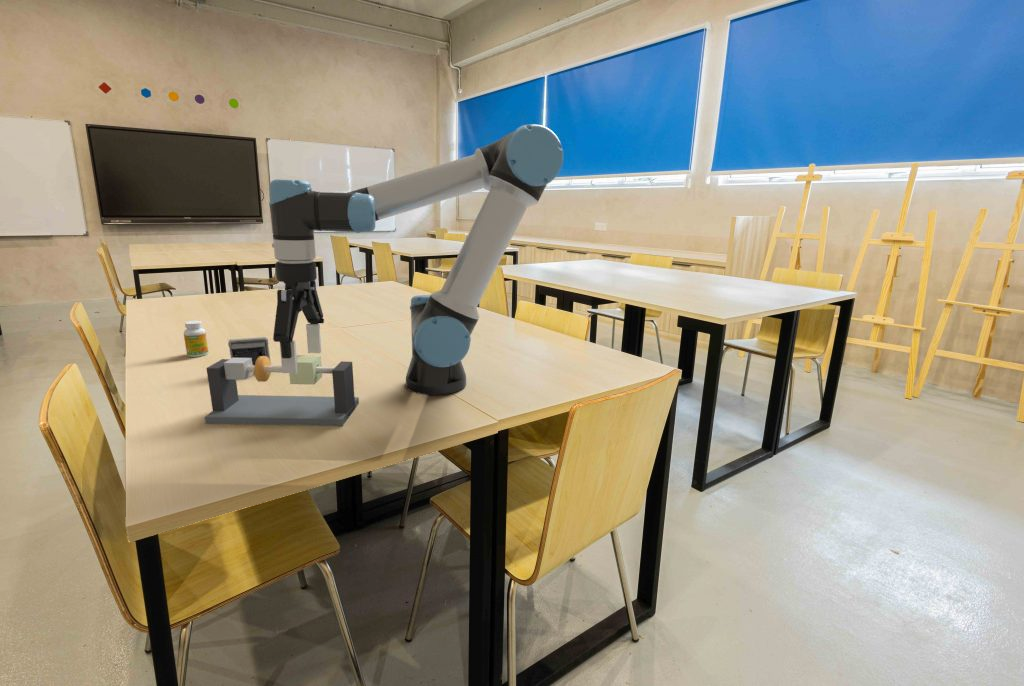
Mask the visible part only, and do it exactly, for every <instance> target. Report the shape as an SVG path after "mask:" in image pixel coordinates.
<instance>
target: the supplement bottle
mask: <svg viewBox="0 0 1024 686" xmlns="http://www.w3.org/2000/svg"><path fill="white" fill-rule="evenodd" d="M202 325H203V323H202V321H201V320H189V321H186V322H184V327H185V328H186V329H184V331H183V337H184V338H183V339H184V343H185V344H184V345H185V351H186V356H187V357H191V358H199V357H200V358H201V357H204V356H206V355H208V354H209V347H208V340H207V332H206V330H205V329H204V328H203V326H202Z"/></svg>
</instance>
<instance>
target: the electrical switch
mask: <svg viewBox="0 0 1024 686" xmlns="http://www.w3.org/2000/svg"><path fill="white" fill-rule="evenodd" d="M227 344H228V348H229V352H230V353H229V354H230V359H231V358H252V365H255V362H256V360H257V358H258V357H259V356H267V357H268V358H269V360H270V363H271V355H270V347H269V339H268V337H267V336H259V337H245V338H232V339H229V340H228V341H227ZM271 364H272V363H271Z"/></svg>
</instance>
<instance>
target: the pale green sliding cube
mask: <svg viewBox="0 0 1024 686" xmlns="http://www.w3.org/2000/svg"><path fill="white" fill-rule="evenodd" d="M296 357H297V370H298V372H297V373H288V374H289V375H288V376H289V384H290V385H316V383H318V382H319V381H320V380H321V379H322V378H323V373H316V369H315V367H323V366H322V356H321V355H299V354H298V355H297V354H296Z"/></svg>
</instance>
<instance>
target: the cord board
mask: <svg viewBox="0 0 1024 686" xmlns="http://www.w3.org/2000/svg"><path fill="white" fill-rule="evenodd" d="M270 361H271V359H270V360H269V358H268V357H267V356H259V357H258V358H257V360H256V362H255V365H252V358H231V357H230V359H228V358H226V359H225V358H222V359H220V360H218V361H217V362H215V363H213V364H212V365H209V366H208V367H206V374H207V380H208V388H209V394H210V401H211V407H212V408H211V409H212V410H211V411H210V412H209V413H208V414H207V415H205V416H204V421H205V422H204V423H205V424H208V425H265V426H267V425H271V426H273V425H275V426H277V425H278V426H326V427H327V426H329V427H330V426H331V427H332V426H333V427H336V426H337V427H343V426H345V424H346V422H347V420H348V419H349V418H350V417H351V415H352V414H353V412H354V411H355V410H356V408H357V407H358V406H359V404H360V398H359V396H355V384H354V383H355V382H354V370H353V368H354V367H353V361H340V362H339V363H338V364H337V365H336V366H322V367H315V369H316V373H322V374H330V375H332V387H333V388H332V389H333V396H317V395H316V396H311V395H310V396H309V395H307V396H306V395H256V394H254V395H253V394H249V395H248V394H239V392H238V387H237V386H238V383H237V380H247V379H249V377H251V376H253V375H254V377H255V379H256V381H258V382H259V383H260V382H261V383H262V382H264V383H265V382H267V381H268V380H269V378H270V376H271V373H276V374H277V373H278V374H279V373H282V365H272V363H270ZM282 374H283V373H282Z"/></svg>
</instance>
